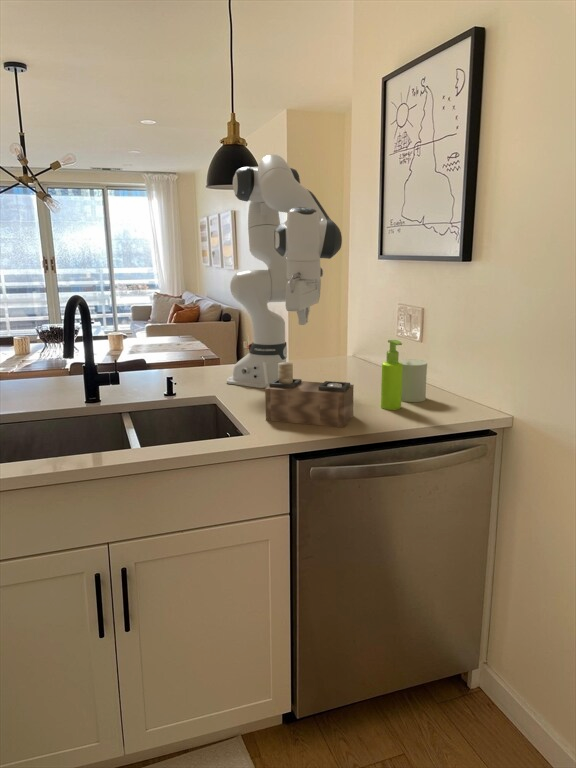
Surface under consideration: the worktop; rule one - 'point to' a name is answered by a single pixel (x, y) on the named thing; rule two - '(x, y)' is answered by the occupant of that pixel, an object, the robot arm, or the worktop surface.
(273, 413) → the walnut block
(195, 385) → the worktop surface
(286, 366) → the maple peg
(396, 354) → the soap dispenser
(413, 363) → the can
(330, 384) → the steel peg
